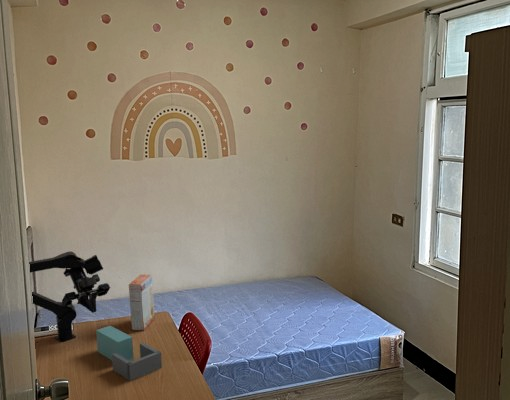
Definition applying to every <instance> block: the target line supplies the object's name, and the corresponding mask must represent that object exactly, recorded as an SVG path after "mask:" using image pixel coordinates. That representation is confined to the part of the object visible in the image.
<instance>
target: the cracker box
mask: <svg viewBox="0 0 510 400" xmlns="http://www.w3.org/2000/svg"><path fill="white" fill-rule="evenodd" d="M128 294H129V295H128V296H129V307H130V309H129V310H130V320H131V321H130V323H131V330H132V331H145V330H146V329H147V328H148V327H149V325H150V324H151V323H152V322H153V320H154V319H155V306H154V290H153V275H152V274H139V275H138V276H137V277H136V278H135V279H134V280H132V281H131V282H130V283H129V284H128Z"/></svg>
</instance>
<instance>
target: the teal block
mask: <svg viewBox="0 0 510 400" xmlns="http://www.w3.org/2000/svg"><path fill="white" fill-rule="evenodd" d="M95 332H96V333H95V334H96V343H97V344H96V348H97V353H99V354H100V355H103V357H106V358H107V359H109V360H110V361H112V354H114V353H117V354H118V355H120V356H122V357H123V358H125V359H127V360H128V361H130V362H131V361H134V346H133V344H134V343H133V336H131V335H129V334H127V333H125V332H123V331H121V330H120V329H118V328H115V327H114V326H112V325H108V326H104V327H101V328H99V329H96V331H95Z"/></svg>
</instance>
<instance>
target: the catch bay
mask: <svg viewBox="0 0 510 400" xmlns="http://www.w3.org/2000/svg"><path fill="white" fill-rule="evenodd" d="M139 357H140V358H138V359H134V360H130V361H128V360H127V359H125V358H123V357H122V356H120V355H118V354H117V353H114V354H112V360H111V361H112V370H113V371H114V372H115V373H117V374H119V375H120V376H122V377H123V378H125V379H126V380H127V381H129V382H131V381H134V380H137V379H139V378H141V377H143V376H146V375H148V374H150V373H151V374H152V373H153V372H155V371H157V370H160V369H162V368H163V367H162V366H163V365H162V362H163V361H162V351H160V350H158V349H156V348H154V347H152V346H150V345H148V344H147V343H144V342H142V343H139Z"/></svg>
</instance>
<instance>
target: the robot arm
mask: <svg viewBox="0 0 510 400" xmlns="http://www.w3.org/2000/svg"><path fill="white" fill-rule="evenodd" d="M28 262H29V264H30V273H35V272H41V271H45V270H46V271H47V270H51V269H64V271H63V275H64V276H65V277H66V278H67V277H70V279H71V281H72V283H73V289H74V290H76V292H75V291H71V292H67V293H64V296H63V298H62V300H61V301H56V300H54V299H52V298H49V297H48V296H45V295H42V294H40V293H38V292H35V291H33V292H32V296H33V303H32V305H35V306H38V307H40V308H42V309H45V310H46V311H49V312H52V313H53V314H54V315H55V319H56V329H57V331H56V332H57V335H55V336H54V339H56V340H57V341H59V342H61V343H63V342H65V341H69V340H72V339H75V338H77V335H75V333H73V322H74V321H75V319H76V317H77V310H76V307H75V305H74V304H73V301H74V300H77V305H81V306H82V307H84V308H85V309H87V310H88V311H89V312H91V313H92V314H93V313H97V297H103V296H106V295H107V294H108V293H109V291H110V289H111V286H110V285H109V283H108V282H105V283H102V284H98V286H97V287H96V288H95V285H97V283H98V282H100V281H101V278H100V276H99V274H98V272H100V271H103V270H104V267H103V265H102V263H101V261H100V259H99V258H98V255H97V254H94V255H92V256H90V257H89V258H87V259H83V258H81V257H79V256H77V254H76V253H75V252H74V251H67V252H66V251H65V252H64V253H60V254H58V255H55V256H53V257H48V258H43V259H37V260H32V261H28ZM84 270H85V271H84ZM87 275H91V277H89V276H87ZM93 288H94V289H93Z"/></svg>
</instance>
